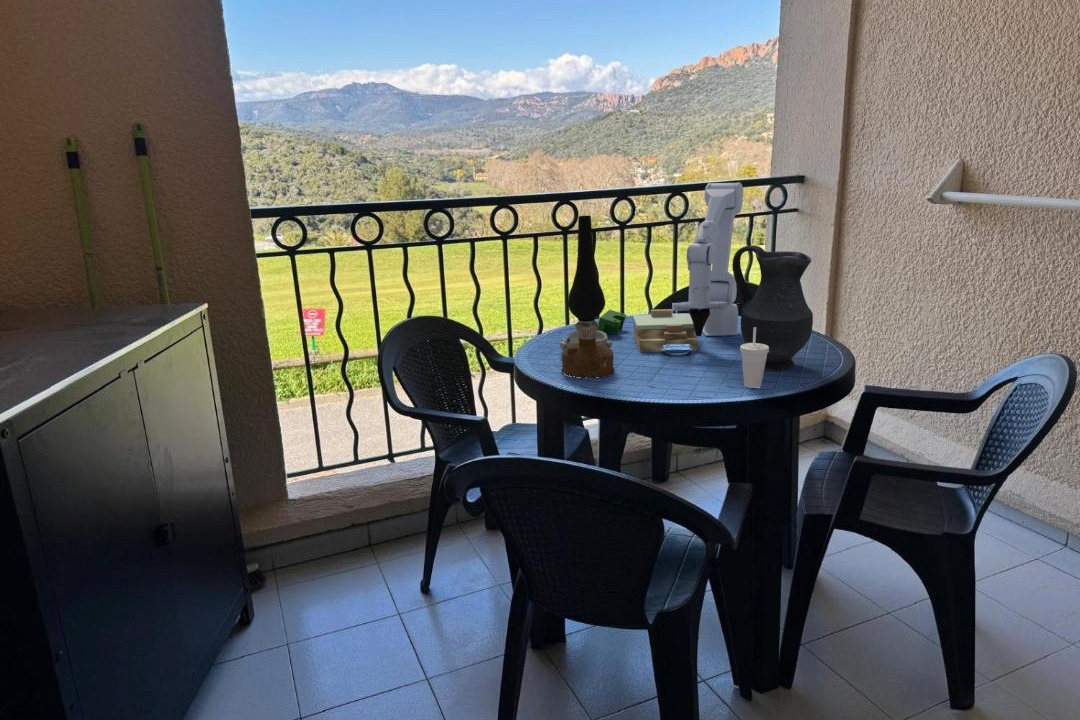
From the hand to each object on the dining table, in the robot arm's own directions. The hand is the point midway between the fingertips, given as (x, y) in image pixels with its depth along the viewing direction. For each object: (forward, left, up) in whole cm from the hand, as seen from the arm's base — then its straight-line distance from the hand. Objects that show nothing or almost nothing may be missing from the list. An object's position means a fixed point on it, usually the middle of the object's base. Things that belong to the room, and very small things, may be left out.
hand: (698, 335), depth 188 cm
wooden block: (+6, 0, 0) cm, 6 cm away
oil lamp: (+31, +18, -4) cm, 36 cm away
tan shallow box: (+8, -7, -4) cm, 11 cm away
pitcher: (-15, +16, -4) cm, 22 cm away
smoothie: (-7, +33, -4) cm, 34 cm away
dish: (+31, 0, -4) cm, 32 cm away
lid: (+8, -9, 0) cm, 12 cm away
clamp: (+23, -21, -4) cm, 31 cm away
